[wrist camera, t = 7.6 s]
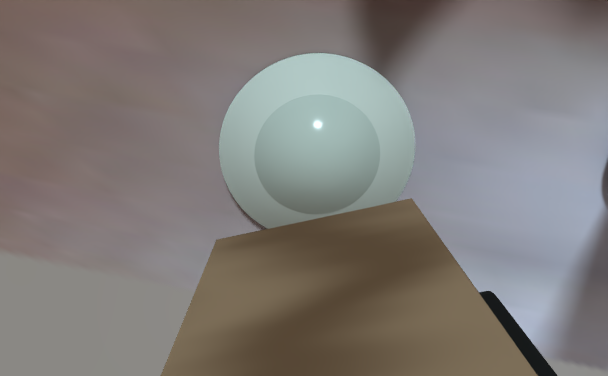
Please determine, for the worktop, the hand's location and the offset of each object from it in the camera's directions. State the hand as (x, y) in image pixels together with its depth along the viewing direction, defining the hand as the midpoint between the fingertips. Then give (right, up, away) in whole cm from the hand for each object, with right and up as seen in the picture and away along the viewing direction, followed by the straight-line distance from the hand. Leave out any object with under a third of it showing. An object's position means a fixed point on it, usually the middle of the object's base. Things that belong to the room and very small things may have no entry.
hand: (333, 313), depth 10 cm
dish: (0, +7, +14) cm, 16 cm away
